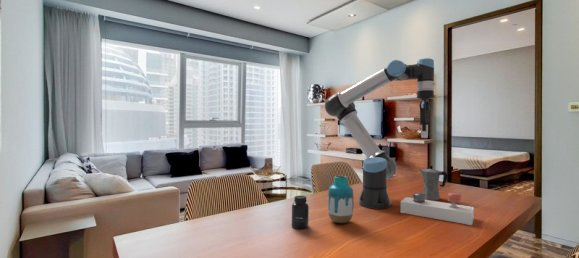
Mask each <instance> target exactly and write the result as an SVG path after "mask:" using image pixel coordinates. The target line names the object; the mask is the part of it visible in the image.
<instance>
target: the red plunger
mask: <svg viewBox="0 0 579 258" xmlns="http://www.w3.org/2000/svg"><path fill="white" fill-rule="evenodd" d="M461 199H462V194H461V193H458V192H447V201H448V202H450V204H451V208H456V209H457V205H458V204H457V203H461V202H462V201H461Z"/></svg>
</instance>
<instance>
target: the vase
mask: <svg viewBox="0 0 579 258" xmlns="http://www.w3.org/2000/svg"><path fill="white" fill-rule="evenodd" d="M327 192H328V193H327V212H328V216H329V219H330V220H331V221H332V222H334V223H337V224H347V223H349V222H350V221H351V220H352V219H353V216H354V215H353V214H354V190H353V188H352V187H351V186H350V185H349V184H348V177H347V175H346V176H345V175H334V177H333V184H331V185H330V186H329V188H328V191H327Z"/></svg>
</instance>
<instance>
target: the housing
mask: <svg viewBox="0 0 579 258" xmlns="http://www.w3.org/2000/svg"><path fill="white" fill-rule="evenodd" d="M474 211H475V209H474V206H468V205H463V204H457V209H456V208H451V202H450V203H449V202H442V201H437V200H428V199H425V202H422V203H418V202H415V201H413V197H410V196H405V197H404V198H403V199H402V200H401V201H400V213H402V214H408V215H413V216H417V217H418V216H419V217H424V218H425V217H426V218H429V219H436V220H441V221H445V222H446V221H447V222H451V223H452V222H453V223H458V224H463V225H469V226H473V223H474V218H475V217H474V215H475V212H474Z"/></svg>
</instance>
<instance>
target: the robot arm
mask: <svg viewBox="0 0 579 258" xmlns="http://www.w3.org/2000/svg"><path fill="white" fill-rule="evenodd" d="M409 80H410V81H411V80H416V90H417V91H416V98H417V99H420V102H419V104H418V106H419V118H420V119H419V120H420V123H419V125H421V129H420V130H421V131H420V136H421V138H422V139H423V138H424V139H427V138H429V137H428V136H429V125H430V124H431V123H430V113H431V102H430V99H434V93H435V92H434V86H436V82H435V83H434V81H435V60H434V59H433V58H430V57H429V58H428V57H427V58H420V59H418V60H417V62H416V63H415V64H406V63H405V62H403V61H402V60H398V59H395V60H391V61H390V62H389V63H388V64H387V66H386V67H384V68H382V69H380V70H378V71H377V72H375V73H373V74H372V75H369V76H367V77H366V78H365V79H363V80H361V81H359V82H357V83H355V84H354V85H352V86H350V87H348V88H346V89H345V90H343V91H337V92H336V93H334V94H333V95H331V96H330V97H328V98H327V99H326V101H325V103H324V110H325V112H326V113H327V115H329V116H331V117H334V118H335V117H336V118H337V120H338V121H339V123H340V124H343V125H344V126H345V127H346V128H347V131H349V133H350V135H351V137H352V138H353V139H354V140H355V142H356V144H357V145H358V147H359V148H360V151H362V152H363V154H364V155H365V159H364V160H363V161H362V190H361V193H360V195H359V199H358V202H359V203H358V204H359V205H360V206H362V207H364V208H367V209H375V210H376V209H377V210H380V209H381V210H383V209H387V208H390V207H391V200H390V196H389V192H388V189H387V187H388V185H387V184H388V183H387V182H388V181H387V180H389V179H391V178H393V176H395V174H396V172H397V170H398V169H397V167H398V166H397V164H396V161H395V160H394V159H393V158H392V157H389V156H388V154H387V153H386V151H385V150H381V149H380V147H379V146H378V144H377V143H376V142H375V140H374V138H373V137H372V136H371V134H370V132H369V131H368V130H367V128H366V127H365V125H364V124H363V122H362V121H361V120H360V119H359V116H358V110H357V109H356V104H355V103H354V102H356V101H359V100H360V99H362V98H364V97H365V96H368V95H369V94H371V93H373V92H374V91H376V90H378V89H380V88H382V87H384V86H385V85H388V84H389V83H391V82H393V81H395V82H397V81H399V82H401V81H409Z"/></svg>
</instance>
